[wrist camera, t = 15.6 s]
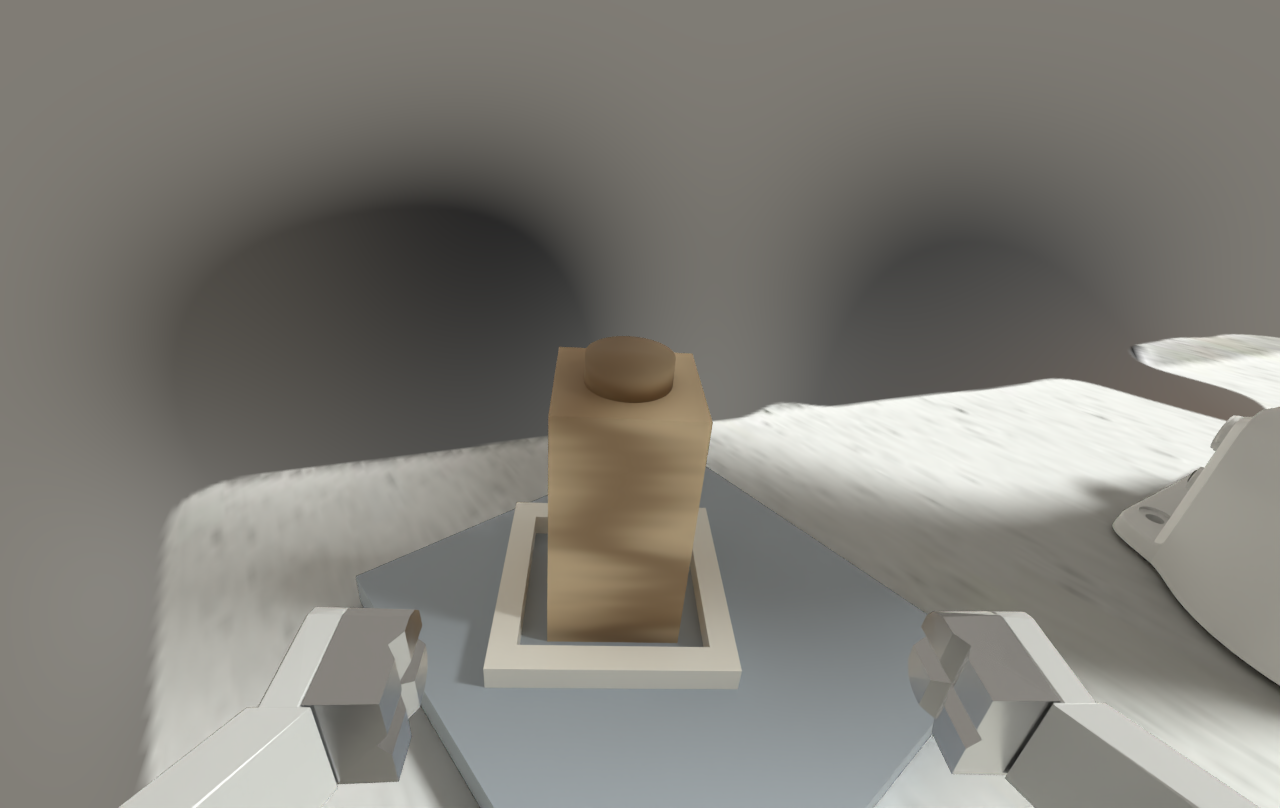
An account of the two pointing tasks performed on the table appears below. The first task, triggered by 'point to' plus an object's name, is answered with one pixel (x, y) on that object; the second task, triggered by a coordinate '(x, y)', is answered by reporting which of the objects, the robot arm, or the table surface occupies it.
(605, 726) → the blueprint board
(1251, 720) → the table surface
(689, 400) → the oak pillar
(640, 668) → the socket frame
